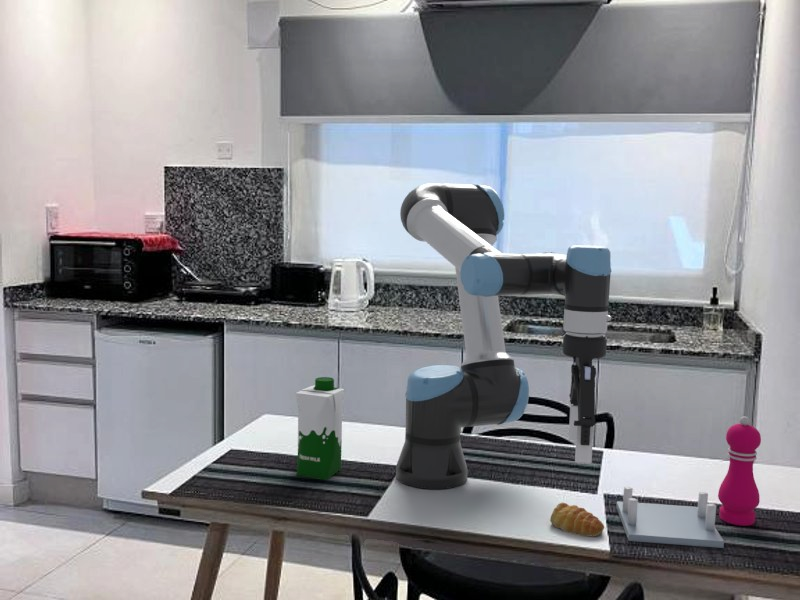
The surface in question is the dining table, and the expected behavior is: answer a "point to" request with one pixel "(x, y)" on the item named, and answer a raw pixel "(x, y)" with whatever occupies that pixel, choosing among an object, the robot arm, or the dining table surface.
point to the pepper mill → (740, 475)
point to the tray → (669, 522)
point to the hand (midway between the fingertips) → (579, 450)
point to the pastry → (576, 520)
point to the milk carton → (319, 429)
